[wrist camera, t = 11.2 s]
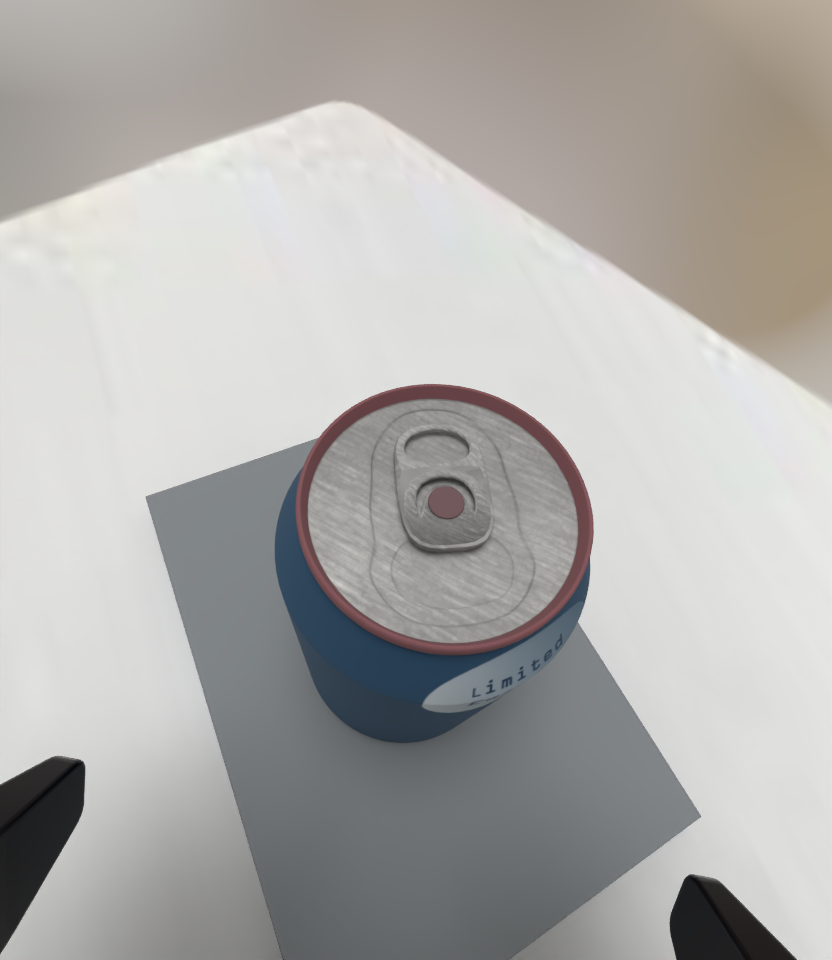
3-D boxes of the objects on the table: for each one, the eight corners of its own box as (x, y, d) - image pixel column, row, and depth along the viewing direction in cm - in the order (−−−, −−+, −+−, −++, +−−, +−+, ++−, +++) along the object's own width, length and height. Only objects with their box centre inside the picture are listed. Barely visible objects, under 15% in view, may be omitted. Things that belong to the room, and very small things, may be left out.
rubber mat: (685, 815, 19) (701, 816, 19) (326, 1079, 15) (324, 1097, 14) (432, 410, 28) (435, 398, 27) (153, 507, 23) (145, 496, 22)
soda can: (504, 734, 19) (679, 668, 9) (310, 757, 18) (252, 713, 8) (473, 555, 23) (573, 359, 12) (307, 566, 22) (265, 363, 11)
